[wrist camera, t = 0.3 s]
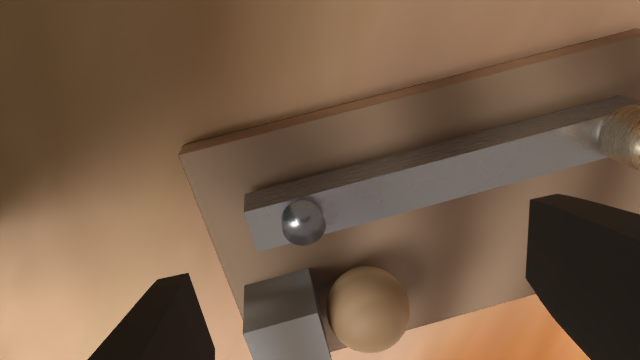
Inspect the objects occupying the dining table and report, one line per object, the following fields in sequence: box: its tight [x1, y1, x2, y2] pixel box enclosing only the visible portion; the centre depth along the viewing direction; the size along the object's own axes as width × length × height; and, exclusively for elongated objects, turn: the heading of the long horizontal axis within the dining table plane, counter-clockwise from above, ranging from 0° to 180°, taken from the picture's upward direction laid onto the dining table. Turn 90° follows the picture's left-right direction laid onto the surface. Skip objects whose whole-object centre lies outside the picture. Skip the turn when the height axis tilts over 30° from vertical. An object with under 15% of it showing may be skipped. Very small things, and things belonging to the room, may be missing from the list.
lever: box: [244, 95, 640, 252], centre depth 15 cm, size 16×2×6 cm, turn 102°
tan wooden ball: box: [326, 266, 410, 353], centre depth 18 cm, size 4×4×4 cm
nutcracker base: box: [178, 29, 640, 360], centre depth 18 cm, size 20×12×4 cm, turn 102°
